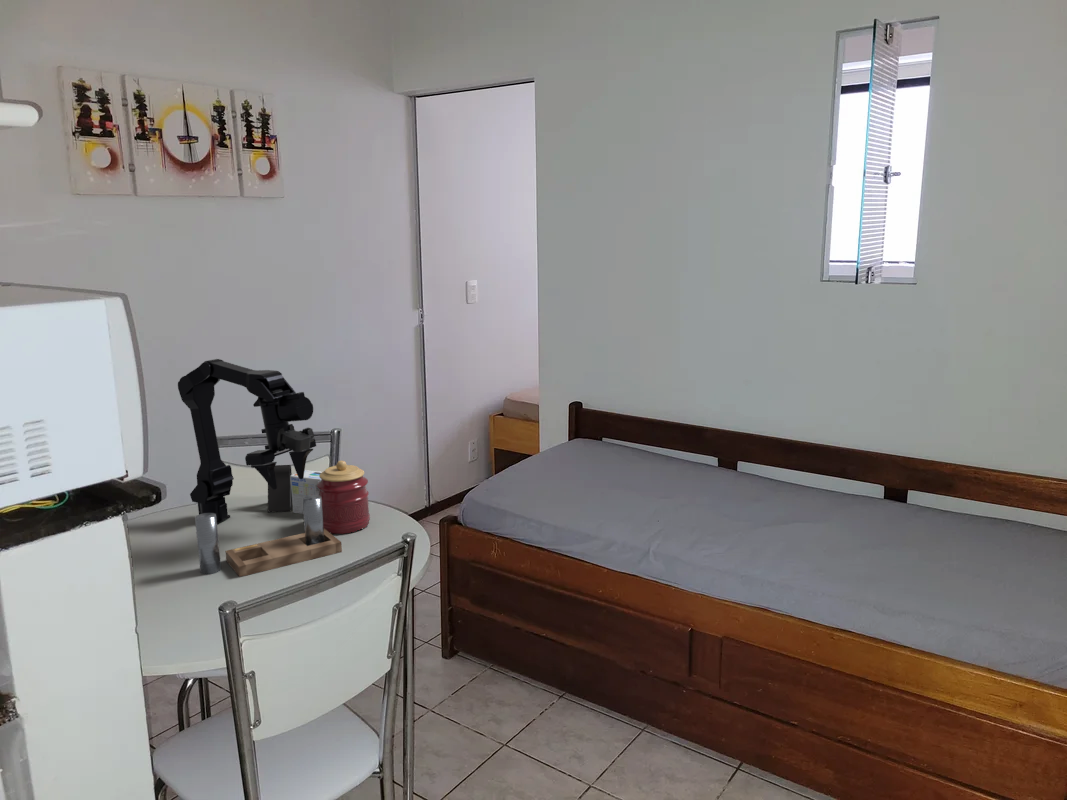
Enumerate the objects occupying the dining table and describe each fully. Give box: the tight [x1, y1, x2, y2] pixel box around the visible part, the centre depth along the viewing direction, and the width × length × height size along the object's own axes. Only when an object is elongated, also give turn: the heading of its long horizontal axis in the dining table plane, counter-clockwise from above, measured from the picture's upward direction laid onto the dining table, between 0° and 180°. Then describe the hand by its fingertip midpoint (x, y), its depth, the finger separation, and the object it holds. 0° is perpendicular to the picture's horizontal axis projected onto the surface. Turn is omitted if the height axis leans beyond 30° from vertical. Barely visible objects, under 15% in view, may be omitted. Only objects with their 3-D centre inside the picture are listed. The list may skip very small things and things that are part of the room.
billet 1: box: [194, 513, 222, 575], centre depth 179 cm, size 4×4×13 cm
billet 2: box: [303, 495, 324, 546], centre depth 191 cm, size 4×4×13 cm
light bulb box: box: [290, 469, 323, 515], centre depth 217 cm, size 11×7×11 cm, turn 71°
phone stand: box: [267, 464, 293, 513], centre depth 221 cm, size 9×6×12 cm, turn 7°
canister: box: [317, 460, 371, 535], centre depth 206 cm, size 13×13×18 cm
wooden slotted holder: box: [225, 529, 343, 578], centre depth 188 cm, size 24×11×3 cm, turn 126°
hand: (288, 484), depth 197 cm, fingers open, 9 cm apart
